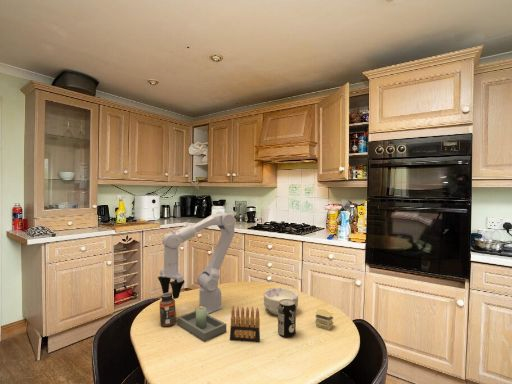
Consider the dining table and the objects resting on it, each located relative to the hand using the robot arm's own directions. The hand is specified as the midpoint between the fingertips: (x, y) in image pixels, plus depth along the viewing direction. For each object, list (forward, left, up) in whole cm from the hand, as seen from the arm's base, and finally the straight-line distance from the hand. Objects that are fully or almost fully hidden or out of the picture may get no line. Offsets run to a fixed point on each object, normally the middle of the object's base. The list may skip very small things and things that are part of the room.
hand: (170, 295), depth 117 cm
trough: (-4, +16, -10) cm, 19 cm away
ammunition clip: (-10, +34, -10) cm, 37 cm away
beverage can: (-24, +42, -10) cm, 49 cm away
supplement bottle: (+3, +4, -10) cm, 11 cm away
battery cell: (-4, +16, -9) cm, 19 cm away
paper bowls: (-38, +28, -10) cm, 48 cm away
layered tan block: (-39, +48, -10) cm, 63 cm away
